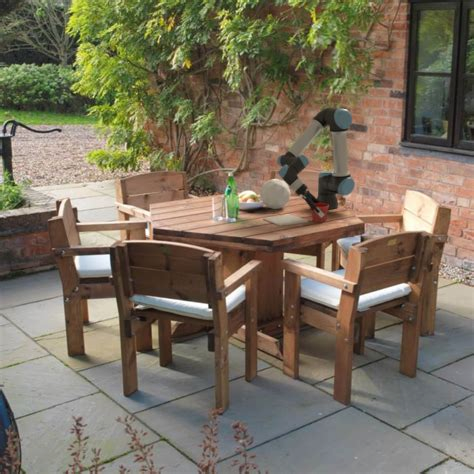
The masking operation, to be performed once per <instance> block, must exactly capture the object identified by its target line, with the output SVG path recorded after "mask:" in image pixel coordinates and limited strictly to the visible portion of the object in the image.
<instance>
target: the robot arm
mask: <svg viewBox="0 0 474 474" xmlns="http://www.w3.org/2000/svg"><path fill="white" fill-rule="evenodd" d="M352 123H353V116H352V114H351V112H350V111H349V109H348V110H347V109H346V108H345V109H344V108H341V107H340V108H339V107H331V106H330V107H325V108H323V109H321V110H320V111H319V112H318V113H317V114H315V116H314V117H313V118H312V119H311V121H310V124H309V125H308V126H307V127H306V128H305V130H304V131H302V133H301V135H300V136H299V137H298V138H297V140H295V142H294V143H293V144H291V146H290V148H289V149H288V150H287V151H286V153H284V154H280V155H279V156H277V160H276V162H277V164H278V166H279V167H280V169H279V170H278V171H277V174H278V175H279V177H280V178H281V179H282V181H284V182H285V183H286V184H287V185H288V186H289V189H290V190H291V189H292V191H294V193H295V194H296V195H297V196H298V197H300V196H301V195H302V197H301V198H302V199H303V200H304V201H305V202H306V204H307V205H308V206H309V208H310V210H311V209H312V211H313V210H314V211H315V212H316V213H317V214H318V215H319V216H320V217H321V218H322V217H323V216H324V215H325V214H324V213H323V212H322V211H321V210H320V209H319V208H318V207H316V205H315V204H314V203H324V204H328V205H329V208H328V210H335V209H338V208H339V202H338V198H337V195H339V196H348V195H350V194H352V192H353V191H354V188H355V180H354V179H353V178H352V175H351V172H350V171H349V168H348V167H349V166H348V165H349V164H348V163H349V161H348V141H347V139H348V138H347V132H348V131H349V128H350V127H351V126H352ZM327 127H328V128H329V132H330V133H331V134H332V135H331V136H332V137H331V138H332V149H333V150H332V154H333V157H332V158H333V170H330V171H329V170H328V171H321V172H319V174H318V178H317V179H318V183H317V186H318V188H317V195H316V196H315V195H313V193H311V192H310V191H309V190H308V186H307V185H306V184H305V183H304V181H303V180H301V178H300V177H299V176H298V175H299V174H300V173H302V171H303V170H304V169H306V168H307V166H308V165H309V163H310V161H309V159H308V157H307V156H306V155H304V154H302V153H303V152H304V151H305V150H306V149H307V148H308V146H309V145H310V144H311V143H312V141H314V140H315V138H316V137H317V136H318V134H319V133H320V132H322V131H324V130H325V129H326V128H327Z"/></svg>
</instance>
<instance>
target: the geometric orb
mask: <svg viewBox="0 0 474 474" xmlns="http://www.w3.org/2000/svg"><path fill="white" fill-rule="evenodd" d="M291 194H292V193H291V189H290V186H289V185H288V184H287V183H286V182H285V181H284V180H283V179H282V180H281V179H278V178H273V179H269V180H266V182H264V184H262V186H261V190H260V192H259V196H260V198H261V202H262V201H263V202H262V204H263V205H265V207H267V208H268V209H269V208H270V209H272V210H278V209H282V208H285V206H286V205H287V204H288V203H289V201H290V197H291Z"/></svg>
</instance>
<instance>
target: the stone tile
mask: <svg viewBox="0 0 474 474" xmlns="http://www.w3.org/2000/svg"><path fill="white" fill-rule="evenodd" d="M262 219H263V221H267V222H269V223H271V224H274V225H277V226H278V227H284V226H289V225H298V224H304V223H309V220H307V219H304V218H301V217H299V216H295V215H293V214H287V215H280V216H279V215H278V216H270V217H264V218H262Z"/></svg>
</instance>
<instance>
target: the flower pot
mask: <svg viewBox="0 0 474 474" xmlns="http://www.w3.org/2000/svg"><path fill="white" fill-rule="evenodd" d="M314 204H315V205H316V207H318V208H319V209H320V210H321V211H322V212H323V213H324V214H325V215H324V216H323V217H322V218H321V217H320V216H319V215H318V214H317V213H316V212H315V211H314V210H313V211H312V209H311V208H310V213H311V219H312V221H313V222H315V223H324V222H326V220H327V216H328V212H329V209H328V208H329V205H328V204H324V203H314Z"/></svg>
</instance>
